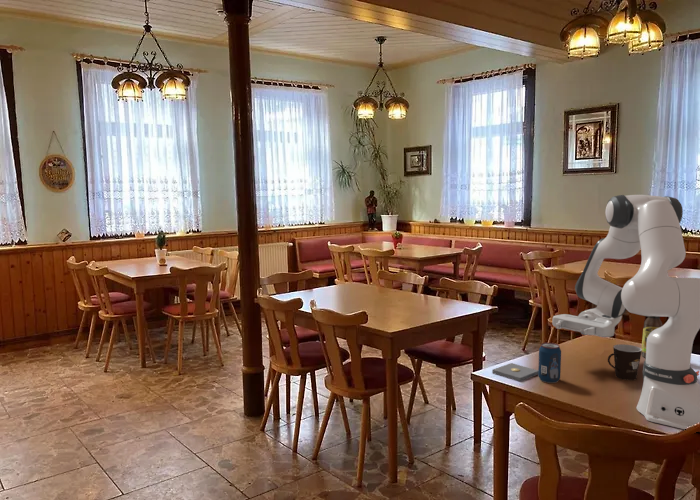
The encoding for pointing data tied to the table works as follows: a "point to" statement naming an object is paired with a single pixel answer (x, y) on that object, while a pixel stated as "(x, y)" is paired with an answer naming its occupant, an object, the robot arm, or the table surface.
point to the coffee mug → (626, 361)
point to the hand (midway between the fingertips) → (570, 329)
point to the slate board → (515, 372)
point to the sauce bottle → (649, 330)
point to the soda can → (549, 362)
